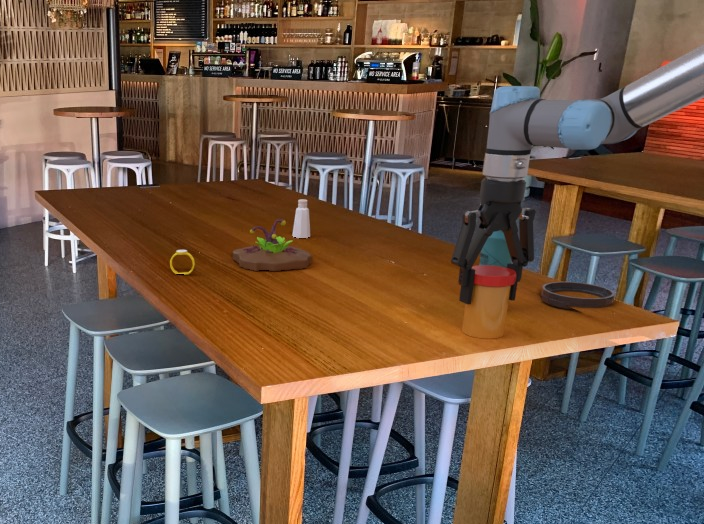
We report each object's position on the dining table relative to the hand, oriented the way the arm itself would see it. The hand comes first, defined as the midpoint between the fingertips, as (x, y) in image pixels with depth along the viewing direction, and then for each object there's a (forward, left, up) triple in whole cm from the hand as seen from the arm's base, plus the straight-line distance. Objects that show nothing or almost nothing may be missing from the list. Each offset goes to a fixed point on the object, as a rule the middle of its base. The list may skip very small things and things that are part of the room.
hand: (486, 300), depth 150 cm
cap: (0, 0, +5) cm, 5 cm away
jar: (0, 0, -6) cm, 6 cm away
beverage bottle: (+14, -11, -7) cm, 19 cm away
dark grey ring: (+12, -31, -6) cm, 34 cm away
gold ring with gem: (+60, +44, -7) cm, 75 cm away
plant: (+66, +18, -7) cm, 69 cm away
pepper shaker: (+95, -2, -7) cm, 95 cm away
